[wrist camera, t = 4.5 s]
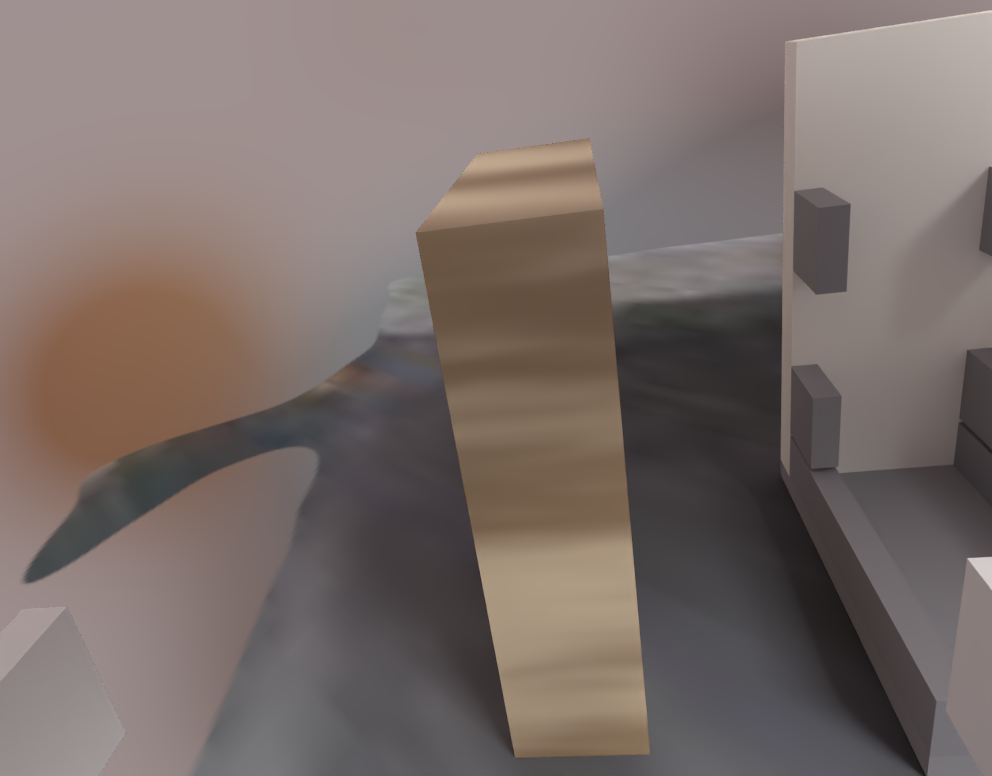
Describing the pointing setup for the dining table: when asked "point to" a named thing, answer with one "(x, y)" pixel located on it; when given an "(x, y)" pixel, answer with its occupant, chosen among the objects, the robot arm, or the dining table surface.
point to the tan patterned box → (541, 441)
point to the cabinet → (892, 340)
